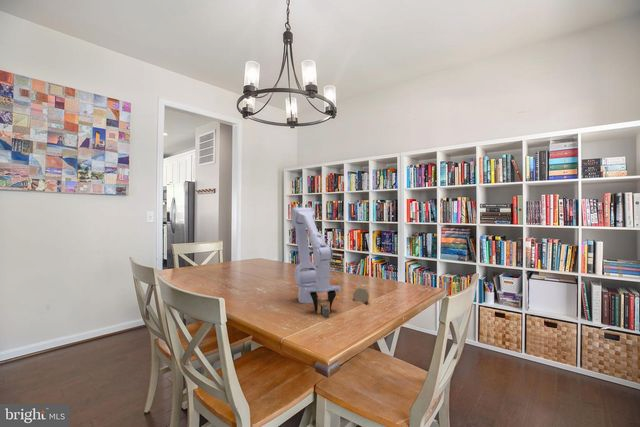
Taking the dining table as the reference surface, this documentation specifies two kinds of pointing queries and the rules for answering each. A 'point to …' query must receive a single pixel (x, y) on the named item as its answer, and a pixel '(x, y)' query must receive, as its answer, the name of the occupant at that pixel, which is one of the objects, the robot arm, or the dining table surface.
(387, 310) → the dining table surface
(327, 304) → the u-shaped block
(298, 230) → the robot arm
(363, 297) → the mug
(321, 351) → the dining table surface
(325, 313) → the stand
